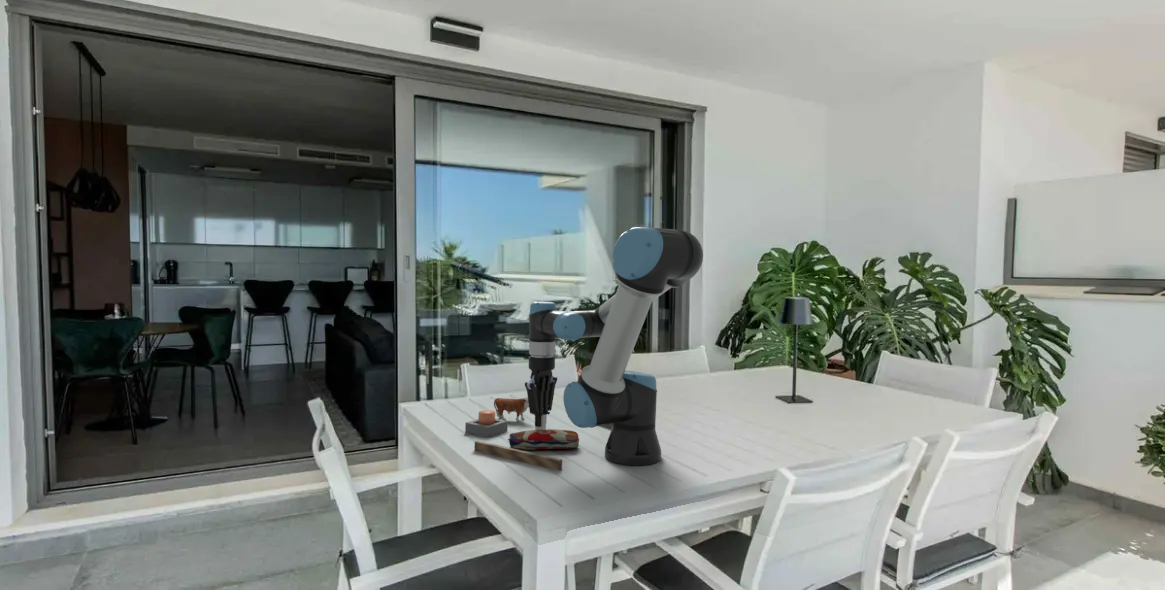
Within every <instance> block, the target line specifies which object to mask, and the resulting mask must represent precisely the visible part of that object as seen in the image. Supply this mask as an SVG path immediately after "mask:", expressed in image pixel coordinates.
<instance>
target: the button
mask: <svg viewBox="0 0 1165 590" xmlns="http://www.w3.org/2000/svg"><path fill="white" fill-rule="evenodd" d="M477 419H478V424H483V425H491V424H494V423H495V419H496V410H490V409H488V410H487V409H486V410H479V411H478V418H477Z"/></svg>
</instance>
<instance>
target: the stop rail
mask: <svg viewBox="0 0 1165 590" xmlns="http://www.w3.org/2000/svg"><path fill="white" fill-rule="evenodd" d="M474 451H475V452H477V453H484V454H487V455H491V456H496V457H499V458H504V459H508V460H512V461H517V462H521V463H525V464H530V465H534V466H537V467H543V468H547V469H550V470H551V469H552V470H555V471H562V469H563V459H562V458H557V457H553V456H548V455H544V454H538V453H534V452H530V451H526V450H522V449H515V448H512V447H509V446H503V445H499V444H494V443H489V442H485V441H480V440H475V441H474Z"/></svg>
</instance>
